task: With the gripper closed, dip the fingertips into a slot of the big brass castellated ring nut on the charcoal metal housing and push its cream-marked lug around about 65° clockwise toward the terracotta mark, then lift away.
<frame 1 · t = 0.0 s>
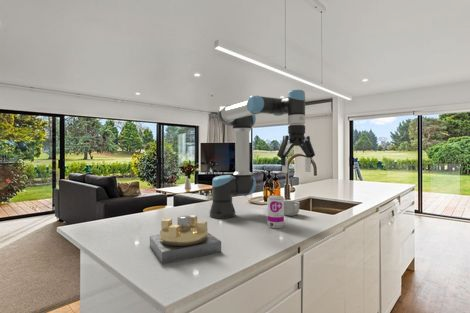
hand: (296, 172, 122), 28 cm above the worktop, tool pointing down, fingers open, 13 cm apart
housing: (184, 248, 104), on the worktop
supplement can: (275, 226, 135), on the worktop
ring nut: (184, 227, 104), point 8 cm above the worktop, hinge at 0.0°
teacup: (291, 215, 158), on the worktop
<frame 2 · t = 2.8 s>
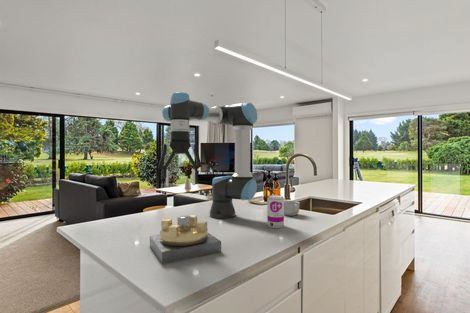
hand: (180, 185, 111), 24 cm above the worktop, tool pointing down, fingers open, 10 cm apart
nothing on the worktop moved.
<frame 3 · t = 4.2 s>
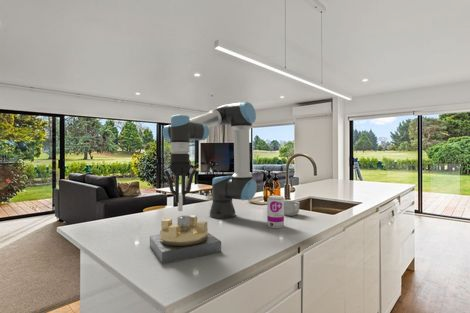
hand: (180, 210, 111), 13 cm above the worktop, tool pointing down, fingers closed
nothing on the worktop moved.
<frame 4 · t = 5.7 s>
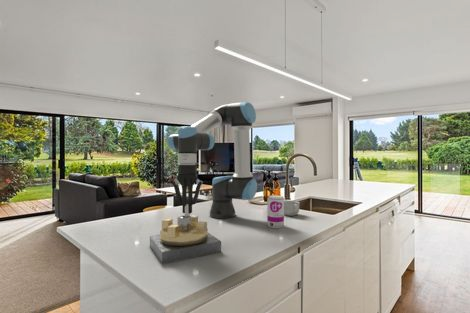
hand: (187, 221, 112), 9 cm above the worktop, tool pointing down, fingers closed
ring nut: (184, 227, 104), point 8 cm above the worktop, hinge at -2.5°, touching gripper
everything else where it was.
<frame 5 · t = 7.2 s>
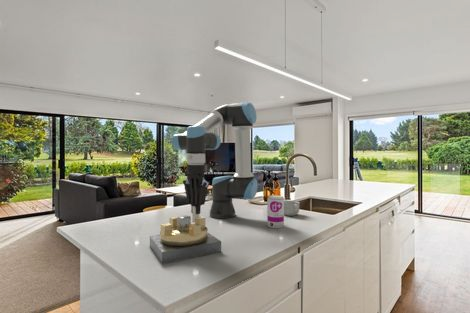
hand: (195, 221, 111), 9 cm above the worktop, tool pointing down, fingers closed
ring nut: (184, 227, 104), point 8 cm above the worktop, hinge at -31.9°, touching gripper
everything else where it was.
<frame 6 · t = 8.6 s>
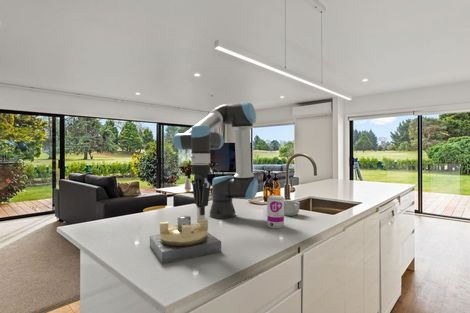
hand: (201, 222, 109), 9 cm above the worktop, tool pointing down, fingers closed
ring nut: (184, 227, 104), point 8 cm above the worktop, hinge at -56.9°, touching gripper
everything else where it was.
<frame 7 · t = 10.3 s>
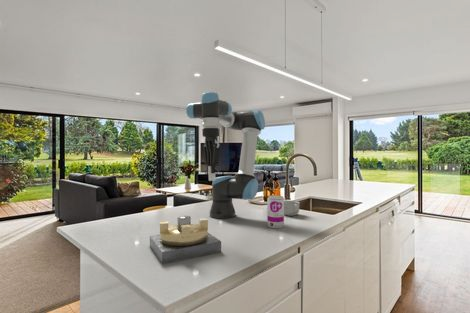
hand: (212, 180, 122), 25 cm above the worktop, tool pointing down, fingers closed
ring nut: (184, 227, 104), point 8 cm above the worktop, hinge at -57.9°
everything else where it was.
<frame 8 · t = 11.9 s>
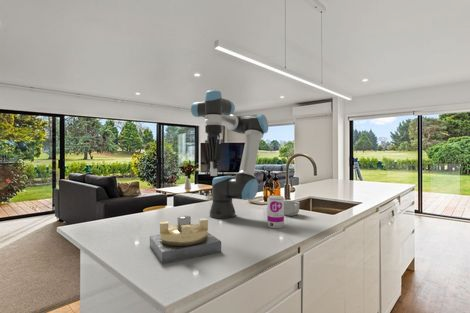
hand: (213, 175, 125), 26 cm above the worktop, tool pointing down, fingers closed
nothing on the worktop moved.
at the end: ring nut at -58° (first picture: +0°) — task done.
